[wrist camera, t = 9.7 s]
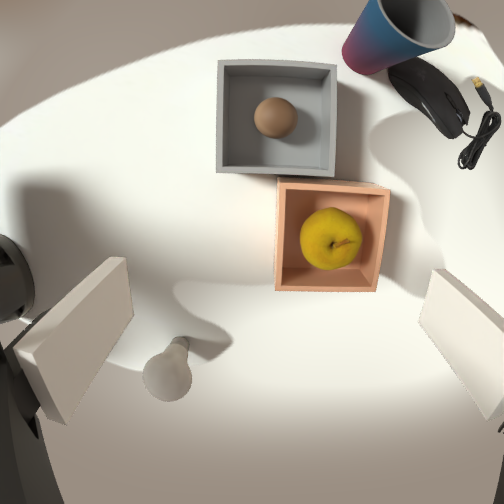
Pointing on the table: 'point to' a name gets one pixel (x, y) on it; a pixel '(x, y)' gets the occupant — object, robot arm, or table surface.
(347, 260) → the apple
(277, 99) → the brown ball
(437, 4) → the cup
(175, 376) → the lightbulb
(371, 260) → the orange square tray
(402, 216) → the table surface
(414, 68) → the computer mouse
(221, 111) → the grey square tray
